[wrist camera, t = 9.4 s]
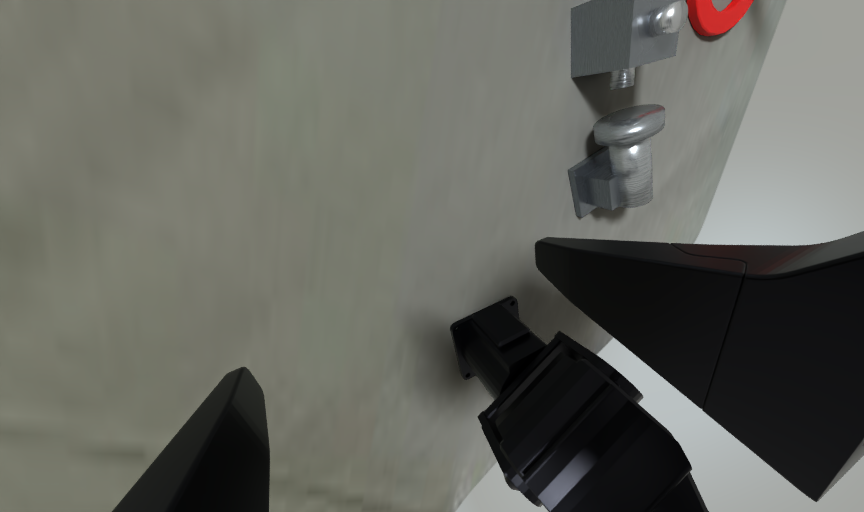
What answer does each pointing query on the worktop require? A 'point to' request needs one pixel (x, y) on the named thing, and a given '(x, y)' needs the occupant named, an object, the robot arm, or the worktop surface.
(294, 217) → the worktop surface
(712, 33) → the tow hook
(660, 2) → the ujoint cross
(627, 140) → the shaft
